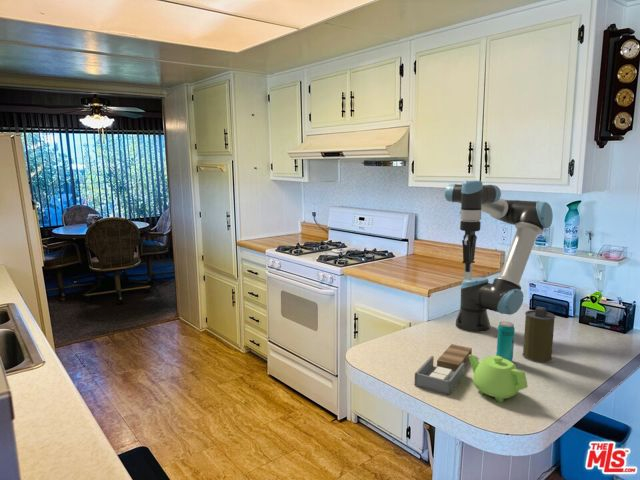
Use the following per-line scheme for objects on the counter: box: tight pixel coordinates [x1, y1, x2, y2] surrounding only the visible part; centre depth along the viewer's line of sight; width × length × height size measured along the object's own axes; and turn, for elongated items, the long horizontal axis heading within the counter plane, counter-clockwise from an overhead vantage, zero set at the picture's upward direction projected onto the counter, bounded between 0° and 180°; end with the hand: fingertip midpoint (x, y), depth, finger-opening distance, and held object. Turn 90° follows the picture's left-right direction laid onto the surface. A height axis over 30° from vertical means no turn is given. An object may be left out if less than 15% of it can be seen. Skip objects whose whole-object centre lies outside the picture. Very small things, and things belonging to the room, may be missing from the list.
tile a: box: [434, 366, 452, 380], centre depth 157 cm, size 5×5×2 cm
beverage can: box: [496, 321, 515, 362], centre depth 168 cm, size 6×6×15 cm
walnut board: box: [436, 343, 473, 371], centre depth 170 cm, size 18×8×3 cm, turn 147°
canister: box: [521, 305, 556, 363], centre depth 172 cm, size 11×10×20 cm
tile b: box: [429, 372, 446, 380], centre depth 152 cm, size 5×5×2 cm
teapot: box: [468, 354, 529, 403], centre depth 145 cm, size 20×13×13 cm
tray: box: [414, 355, 465, 396], centre depth 155 cm, size 17×12×4 cm
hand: (467, 279), depth 177 cm, fingers closed
